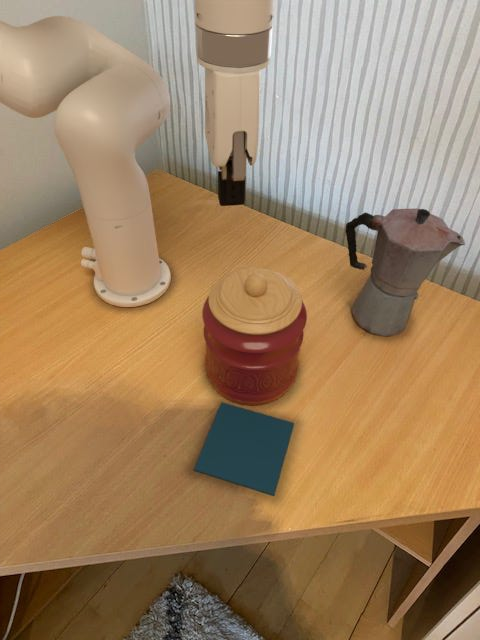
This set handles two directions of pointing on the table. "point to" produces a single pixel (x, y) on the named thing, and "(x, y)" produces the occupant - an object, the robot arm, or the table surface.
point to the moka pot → (397, 265)
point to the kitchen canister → (253, 335)
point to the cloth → (245, 448)
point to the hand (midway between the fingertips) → (231, 201)
